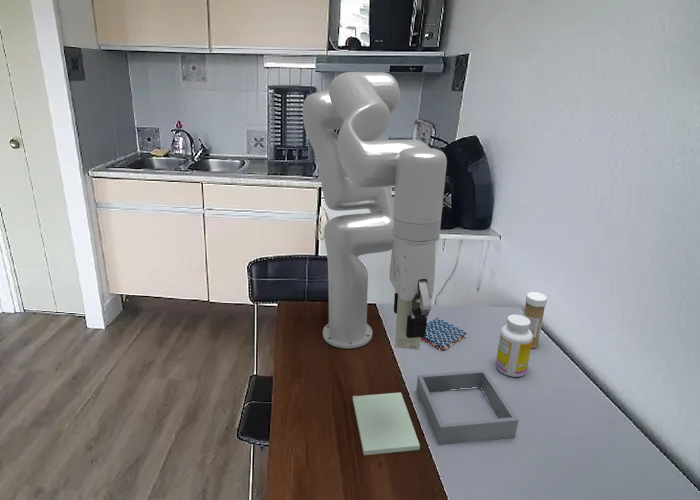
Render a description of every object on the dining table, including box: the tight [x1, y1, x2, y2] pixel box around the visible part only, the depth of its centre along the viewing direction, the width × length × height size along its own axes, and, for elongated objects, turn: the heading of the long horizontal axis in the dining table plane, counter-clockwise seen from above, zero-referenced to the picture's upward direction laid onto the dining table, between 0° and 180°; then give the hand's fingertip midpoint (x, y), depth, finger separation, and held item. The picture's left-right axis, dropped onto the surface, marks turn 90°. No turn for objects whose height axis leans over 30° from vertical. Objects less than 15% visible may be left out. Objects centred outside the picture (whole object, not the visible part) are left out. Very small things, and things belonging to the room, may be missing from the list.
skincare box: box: [394, 288, 421, 351], centre depth 75 cm, size 6×4×12 cm
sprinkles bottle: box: [523, 291, 548, 349], centre depth 106 cm, size 5×5×13 cm
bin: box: [416, 369, 519, 445], centre depth 86 cm, size 15×15×4 cm
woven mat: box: [420, 317, 467, 351], centre depth 112 cm, size 10×11×2 cm
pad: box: [352, 392, 421, 456], centre depth 83 cm, size 14×10×1 cm
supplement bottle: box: [495, 314, 533, 378], centre depth 97 cm, size 7×7×13 cm
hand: (408, 323), depth 76 cm, fingers closed on skincare box, 7 cm apart
